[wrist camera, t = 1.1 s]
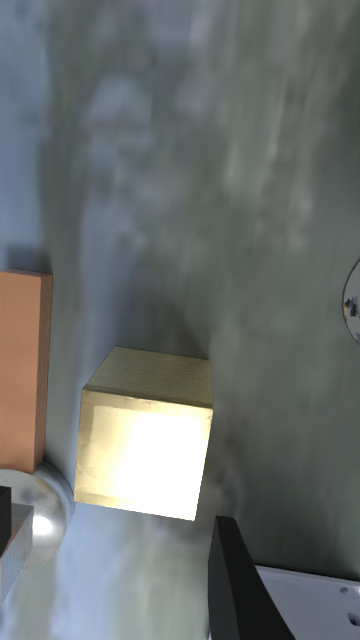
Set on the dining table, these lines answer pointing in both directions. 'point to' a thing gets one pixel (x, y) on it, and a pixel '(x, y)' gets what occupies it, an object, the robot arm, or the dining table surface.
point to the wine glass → (353, 303)
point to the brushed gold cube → (144, 433)
